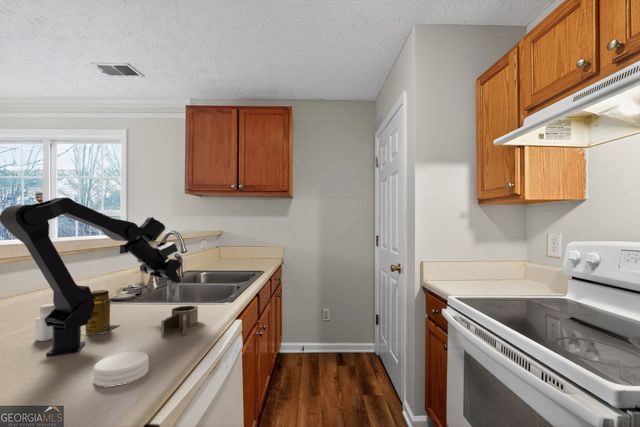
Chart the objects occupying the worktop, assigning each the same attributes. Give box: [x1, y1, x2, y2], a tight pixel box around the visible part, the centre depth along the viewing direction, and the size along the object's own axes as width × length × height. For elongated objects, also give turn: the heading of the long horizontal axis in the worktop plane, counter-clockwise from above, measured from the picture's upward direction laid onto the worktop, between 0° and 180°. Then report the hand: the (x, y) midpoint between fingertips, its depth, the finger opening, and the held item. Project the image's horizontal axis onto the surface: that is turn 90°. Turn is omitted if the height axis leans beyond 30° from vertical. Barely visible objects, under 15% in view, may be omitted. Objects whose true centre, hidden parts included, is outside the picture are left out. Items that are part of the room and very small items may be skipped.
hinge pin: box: [166, 271, 180, 303], centre depth 108 cm, size 4×4×10 cm
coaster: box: [92, 350, 150, 387], centre depth 66 cm, size 10×10×4 cm
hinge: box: [160, 304, 199, 338], centre depth 96 cm, size 15×10×5 cm, turn 23°
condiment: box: [81, 289, 121, 336], centre depth 95 cm, size 7×8×12 cm
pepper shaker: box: [34, 303, 55, 342], centre depth 88 cm, size 4×4×10 cm
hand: (176, 281), depth 109 cm, fingers closed on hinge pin, 4 cm apart
